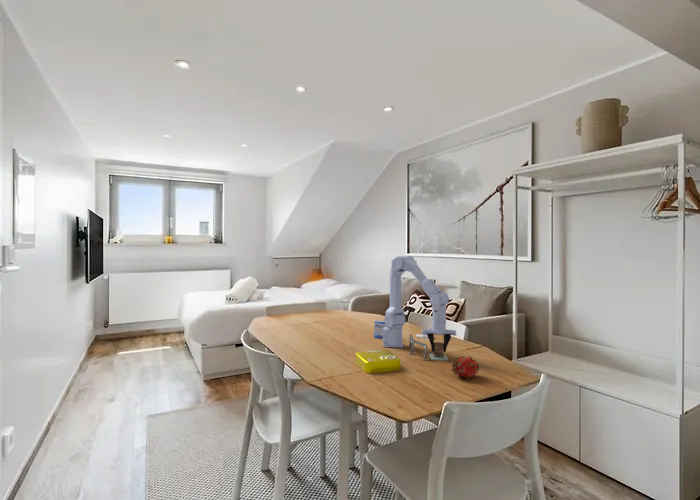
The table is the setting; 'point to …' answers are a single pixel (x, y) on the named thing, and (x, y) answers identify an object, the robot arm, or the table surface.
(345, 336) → the table surface
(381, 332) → the medicine box
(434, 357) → the pad
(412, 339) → the buzz wire
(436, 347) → the brown domed cylinder
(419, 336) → the teacup and saucer
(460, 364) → the dragon fruit
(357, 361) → the element tile
